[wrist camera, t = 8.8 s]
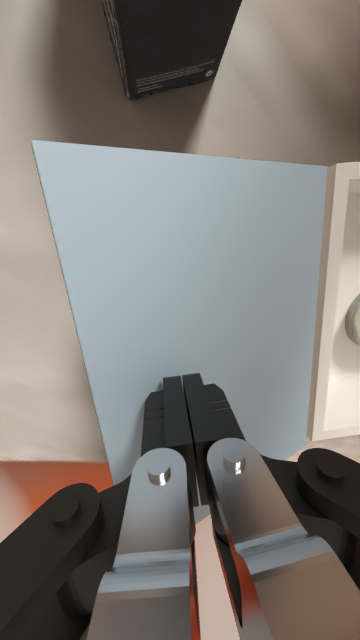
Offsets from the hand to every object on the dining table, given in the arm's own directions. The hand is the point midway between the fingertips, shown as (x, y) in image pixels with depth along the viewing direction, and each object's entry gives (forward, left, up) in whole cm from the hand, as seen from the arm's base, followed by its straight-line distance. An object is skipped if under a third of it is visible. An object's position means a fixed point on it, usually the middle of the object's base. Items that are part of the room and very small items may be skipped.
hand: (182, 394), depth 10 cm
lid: (-2, +1, -2) cm, 3 cm away
